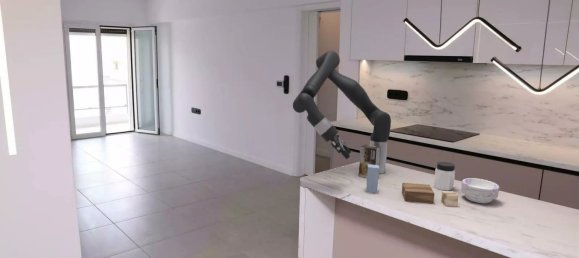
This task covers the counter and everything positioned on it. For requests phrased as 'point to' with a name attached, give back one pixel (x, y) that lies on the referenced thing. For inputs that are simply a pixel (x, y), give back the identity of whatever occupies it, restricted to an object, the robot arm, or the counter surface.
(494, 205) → the counter surface
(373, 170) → the light blue block
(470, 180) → the paper bowls
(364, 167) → the coffee box
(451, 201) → the maple cube
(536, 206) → the counter surface
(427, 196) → the walnut block
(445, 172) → the jar
